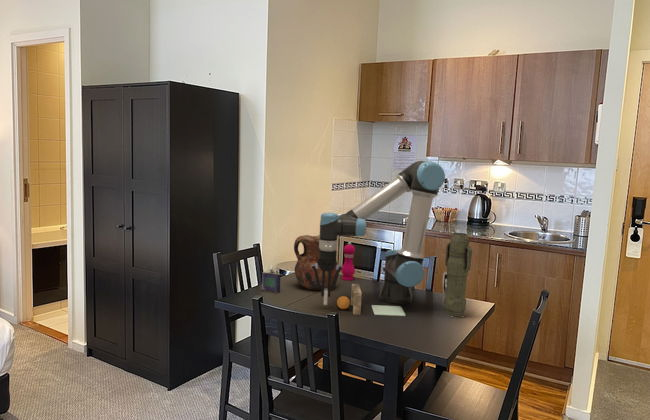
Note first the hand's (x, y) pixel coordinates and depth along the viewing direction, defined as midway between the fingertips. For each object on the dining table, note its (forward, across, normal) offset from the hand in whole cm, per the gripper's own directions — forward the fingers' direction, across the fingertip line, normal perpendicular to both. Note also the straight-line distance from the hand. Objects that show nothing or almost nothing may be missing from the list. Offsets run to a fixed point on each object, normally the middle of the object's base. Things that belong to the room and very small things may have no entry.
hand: (325, 303), depth 223 cm
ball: (-1, +8, 0) cm, 8 cm away
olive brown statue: (+2, +55, -2) cm, 55 cm away
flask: (+2, -25, +23) cm, 34 cm away
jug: (+2, -4, +35) cm, 35 cm away
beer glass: (+2, +56, +11) cm, 57 cm away
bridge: (+2, +13, 0) cm, 13 cm away
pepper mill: (+2, +13, +53) cm, 55 cm away
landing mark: (+2, +27, 0) cm, 27 cm away
